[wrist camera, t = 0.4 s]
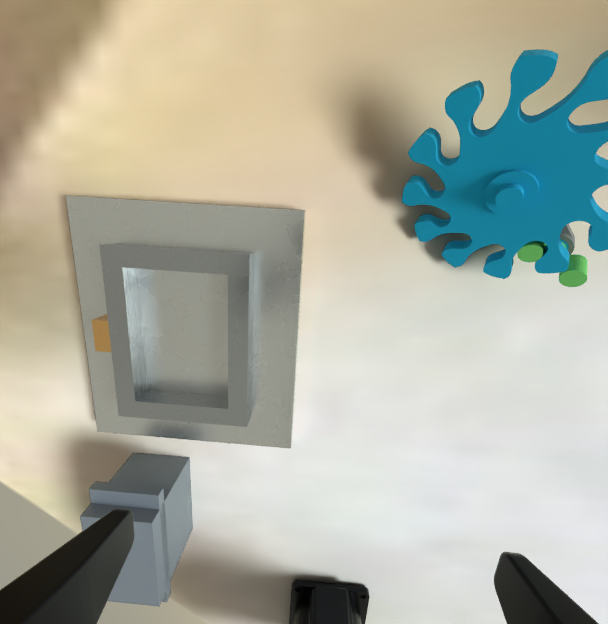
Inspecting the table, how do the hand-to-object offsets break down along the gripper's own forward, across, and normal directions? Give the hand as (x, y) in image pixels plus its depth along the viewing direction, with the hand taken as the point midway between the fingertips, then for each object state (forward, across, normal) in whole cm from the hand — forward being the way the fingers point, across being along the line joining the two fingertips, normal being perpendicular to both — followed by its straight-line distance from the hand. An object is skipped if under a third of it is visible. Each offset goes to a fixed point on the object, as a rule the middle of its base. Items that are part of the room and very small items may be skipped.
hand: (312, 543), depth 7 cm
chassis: (+13, +8, 0) cm, 16 cm away
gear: (+14, -8, -10) cm, 19 cm away
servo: (+14, +11, +14) cm, 22 cm away
